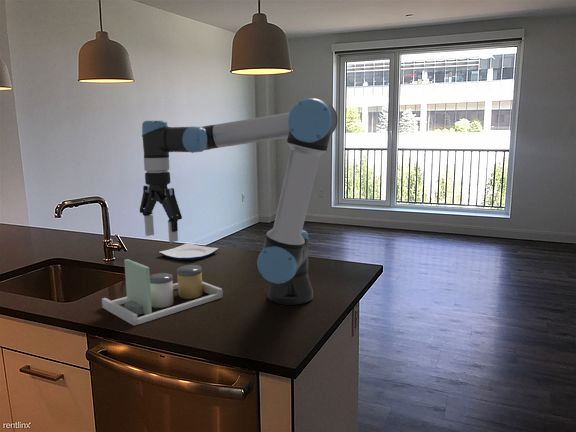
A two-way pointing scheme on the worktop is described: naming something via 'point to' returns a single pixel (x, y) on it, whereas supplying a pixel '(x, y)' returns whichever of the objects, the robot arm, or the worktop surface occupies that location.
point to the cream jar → (161, 290)
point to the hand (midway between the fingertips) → (161, 238)
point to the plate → (189, 252)
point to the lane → (134, 320)
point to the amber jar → (190, 281)
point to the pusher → (137, 288)
